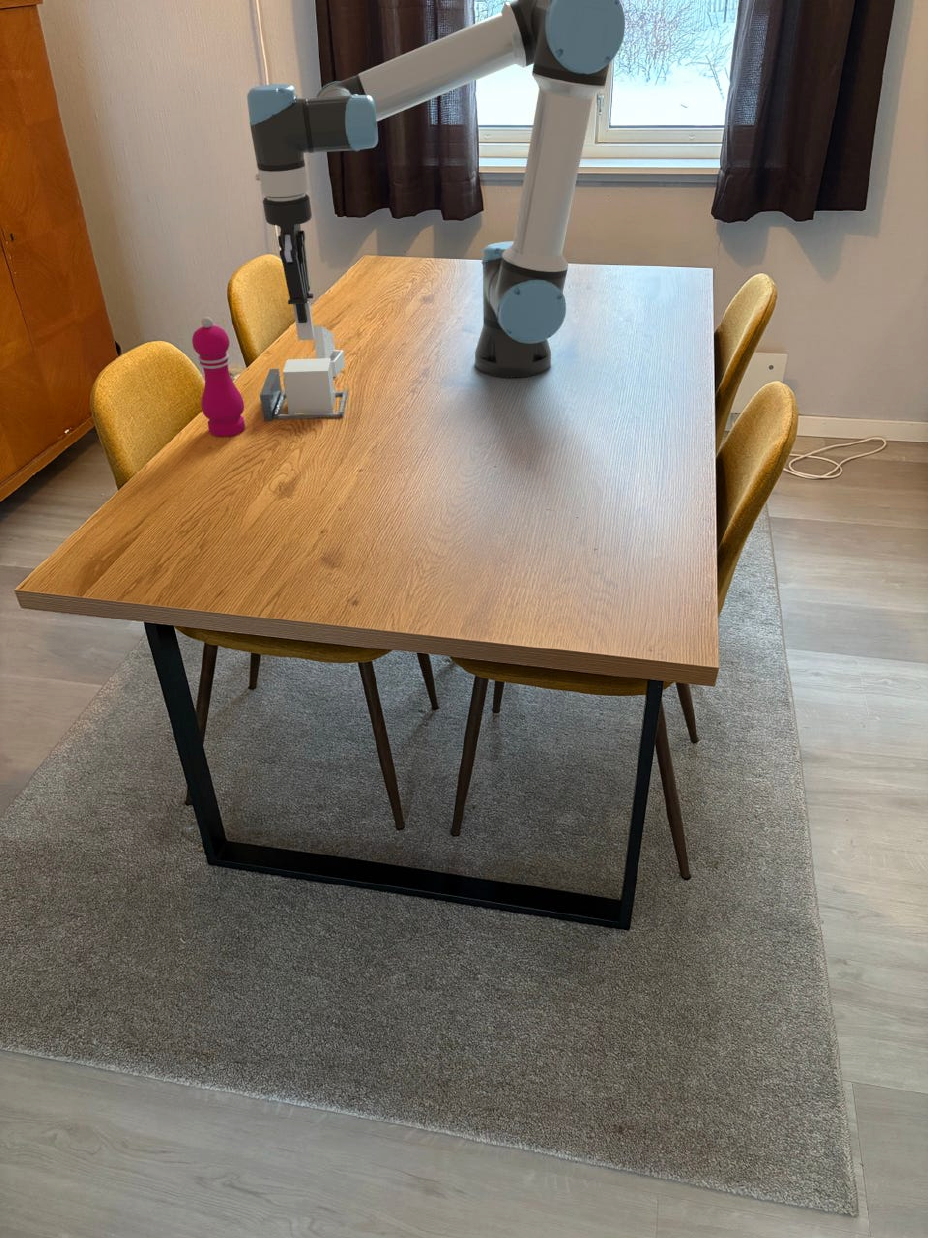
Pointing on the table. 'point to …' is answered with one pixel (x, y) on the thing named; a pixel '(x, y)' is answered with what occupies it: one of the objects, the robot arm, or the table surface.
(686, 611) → the table surface
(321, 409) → the block
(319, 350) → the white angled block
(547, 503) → the table surface
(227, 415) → the pepper mill
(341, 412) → the rail plate
